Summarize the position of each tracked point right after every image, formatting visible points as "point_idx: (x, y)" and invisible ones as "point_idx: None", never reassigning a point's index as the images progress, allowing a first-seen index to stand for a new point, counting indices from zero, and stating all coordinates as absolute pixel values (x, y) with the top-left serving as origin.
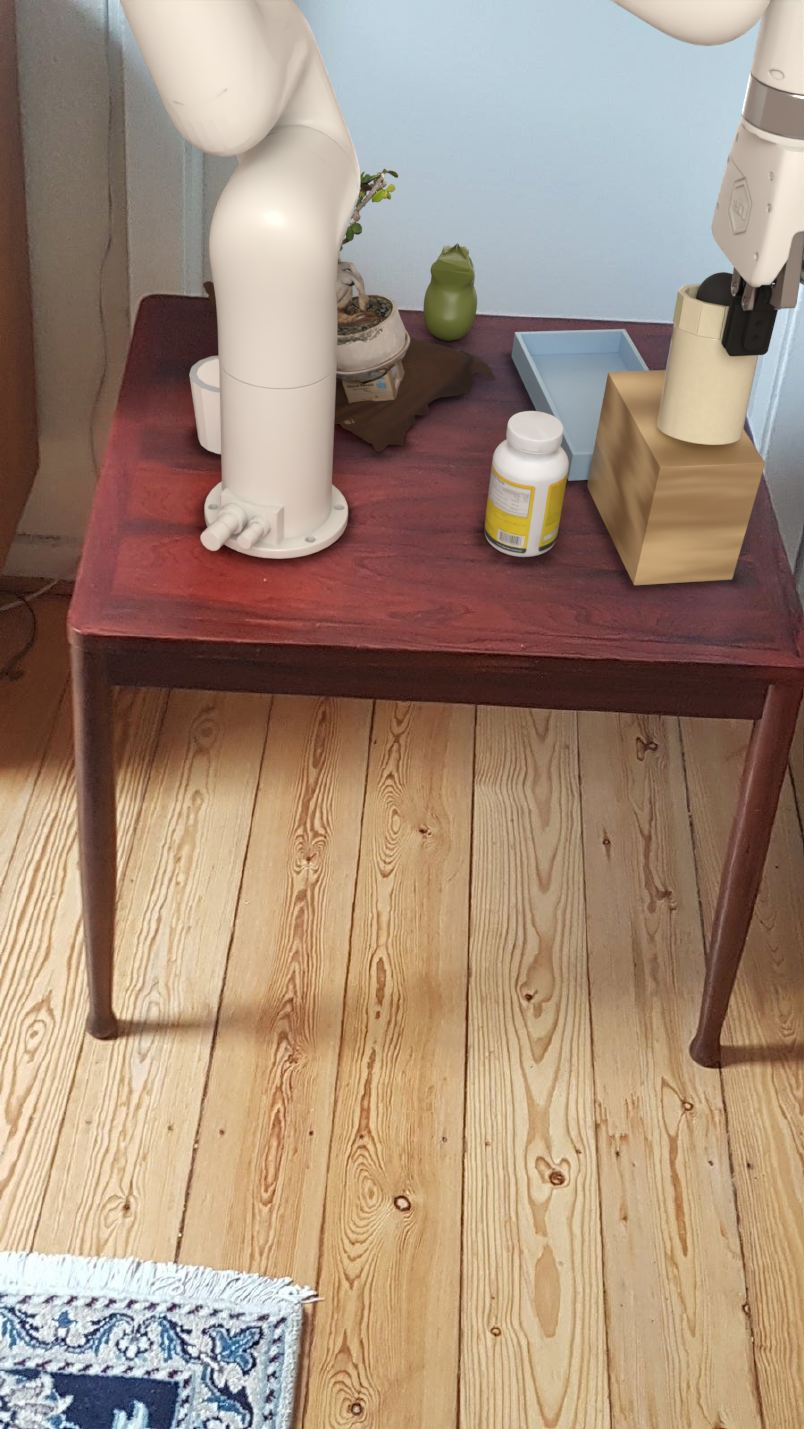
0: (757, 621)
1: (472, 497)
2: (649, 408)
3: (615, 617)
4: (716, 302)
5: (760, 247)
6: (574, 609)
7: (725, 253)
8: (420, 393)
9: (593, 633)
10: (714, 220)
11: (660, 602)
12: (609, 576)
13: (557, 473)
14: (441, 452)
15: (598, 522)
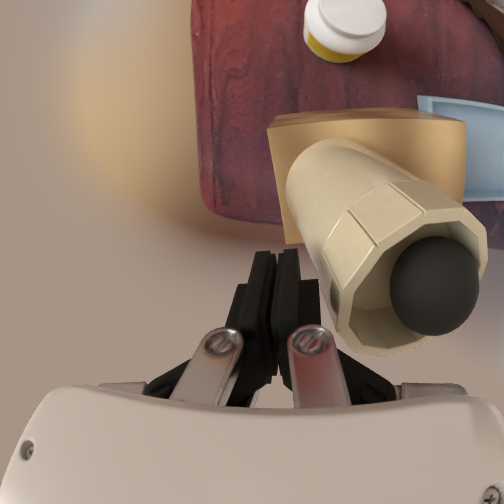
0: (243, 199)
1: (387, 16)
2: (395, 144)
3: (236, 97)
4: (408, 275)
5: (9, 471)
6: (243, 68)
7: (276, 420)
8: (492, 18)
9: (216, 80)
10: (484, 445)
11: (258, 133)
12: (289, 98)
13: (317, 35)
14: (442, 14)
15: (362, 103)
